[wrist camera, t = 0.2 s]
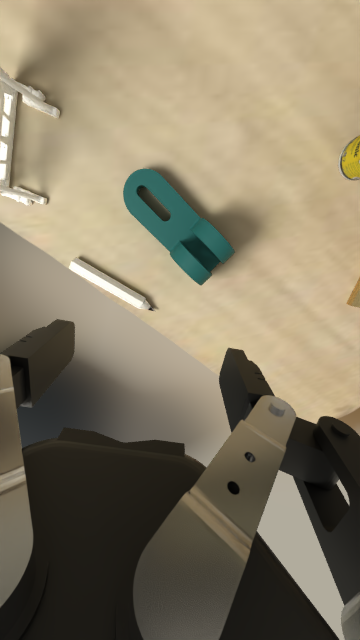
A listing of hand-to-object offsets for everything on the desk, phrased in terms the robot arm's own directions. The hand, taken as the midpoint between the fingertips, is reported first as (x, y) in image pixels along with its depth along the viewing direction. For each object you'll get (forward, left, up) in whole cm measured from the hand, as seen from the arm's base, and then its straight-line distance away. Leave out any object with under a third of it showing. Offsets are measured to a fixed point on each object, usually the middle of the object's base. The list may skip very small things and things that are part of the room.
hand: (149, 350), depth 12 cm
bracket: (-6, -1, -29) cm, 30 cm away
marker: (+6, -9, -29) cm, 31 cm away
